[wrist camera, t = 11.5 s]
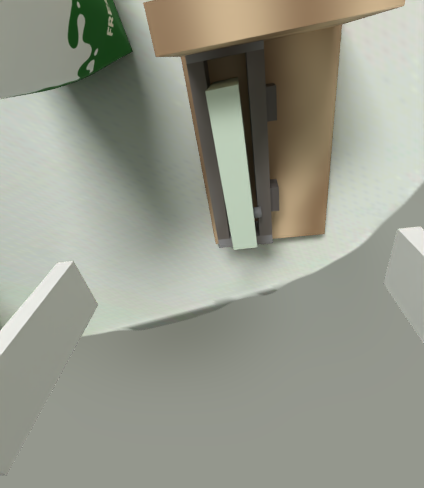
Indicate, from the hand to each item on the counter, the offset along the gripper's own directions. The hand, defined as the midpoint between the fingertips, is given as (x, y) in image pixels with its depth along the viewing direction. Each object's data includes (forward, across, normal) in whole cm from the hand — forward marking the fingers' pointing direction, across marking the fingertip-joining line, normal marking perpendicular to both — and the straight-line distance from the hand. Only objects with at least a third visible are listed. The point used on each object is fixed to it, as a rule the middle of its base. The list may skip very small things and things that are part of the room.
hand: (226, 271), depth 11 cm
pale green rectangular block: (+17, +1, 0) cm, 17 cm away
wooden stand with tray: (+18, +3, 0) cm, 18 cm away
